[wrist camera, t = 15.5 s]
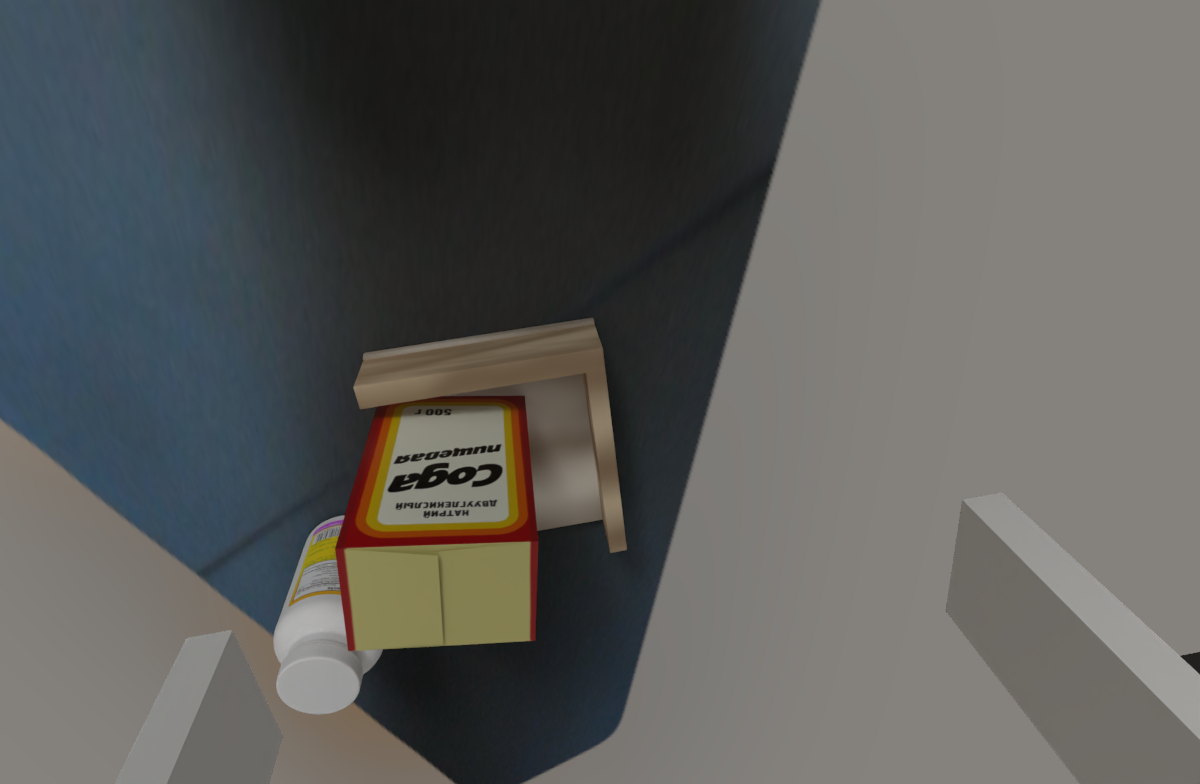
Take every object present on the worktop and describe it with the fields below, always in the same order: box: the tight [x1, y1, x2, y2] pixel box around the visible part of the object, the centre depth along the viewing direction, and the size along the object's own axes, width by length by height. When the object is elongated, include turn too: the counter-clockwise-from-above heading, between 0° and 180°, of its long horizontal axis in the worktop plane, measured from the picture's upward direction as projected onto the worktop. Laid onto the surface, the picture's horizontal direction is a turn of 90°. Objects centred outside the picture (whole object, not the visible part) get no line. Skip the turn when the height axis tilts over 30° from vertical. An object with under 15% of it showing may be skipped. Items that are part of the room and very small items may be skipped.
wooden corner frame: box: [353, 318, 627, 553], centre depth 49 cm, size 16×15×4 cm
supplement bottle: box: [273, 515, 383, 714], centre depth 48 cm, size 7×7×13 cm
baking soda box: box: [335, 396, 538, 651], centre depth 43 cm, size 10×6×16 cm
